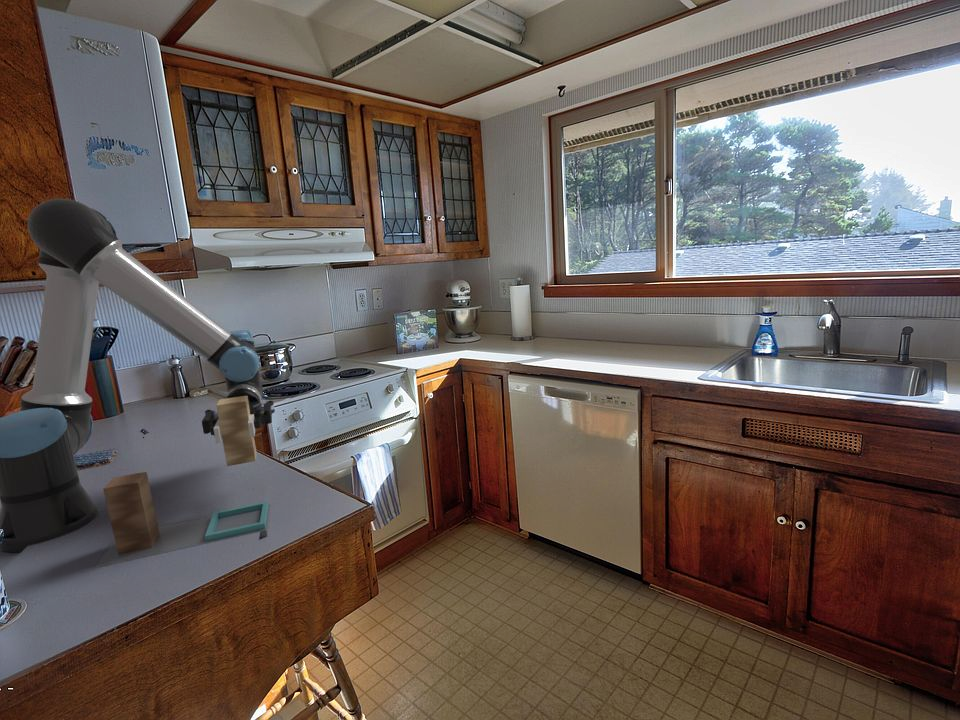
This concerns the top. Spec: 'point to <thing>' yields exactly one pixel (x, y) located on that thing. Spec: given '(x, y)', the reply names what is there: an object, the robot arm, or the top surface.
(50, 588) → the top surface
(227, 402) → the oak pillar
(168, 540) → the build plate
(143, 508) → the walnut pillar
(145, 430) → the chef's knife
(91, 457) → the woven mat
